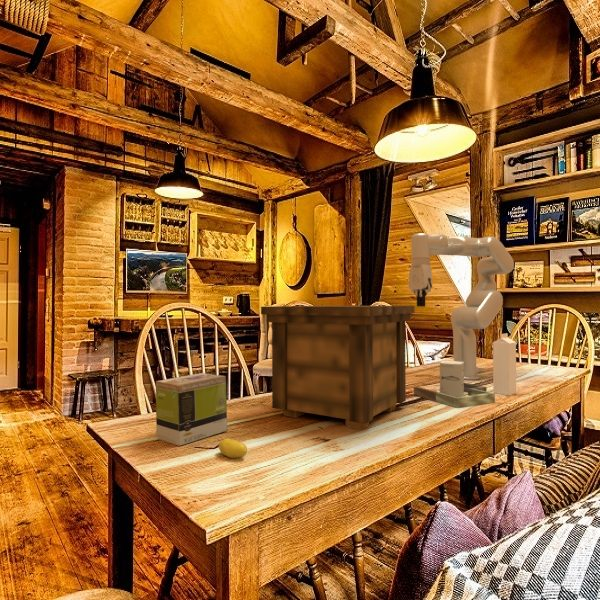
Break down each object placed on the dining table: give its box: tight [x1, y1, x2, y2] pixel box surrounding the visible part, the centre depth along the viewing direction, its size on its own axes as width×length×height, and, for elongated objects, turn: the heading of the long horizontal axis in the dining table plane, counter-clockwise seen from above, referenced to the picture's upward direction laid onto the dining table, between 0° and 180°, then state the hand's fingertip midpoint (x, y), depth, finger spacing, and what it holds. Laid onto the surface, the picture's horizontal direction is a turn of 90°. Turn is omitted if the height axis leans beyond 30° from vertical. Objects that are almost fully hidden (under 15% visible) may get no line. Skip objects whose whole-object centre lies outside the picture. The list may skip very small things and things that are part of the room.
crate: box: [260, 305, 416, 430], centre depth 130 cm, size 35×35×33 cm
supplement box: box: [439, 360, 465, 397], centre depth 148 cm, size 7×7×13 cm
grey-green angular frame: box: [413, 382, 496, 409], centre depth 148 cm, size 23×20×3 cm
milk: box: [492, 332, 517, 396], centre depth 155 cm, size 6×6×22 cm
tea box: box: [155, 372, 228, 447], centre depth 107 cm, size 15×10×15 cm
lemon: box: [218, 437, 248, 459], centre depth 92 cm, size 4×8×4 cm, turn 47°
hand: (421, 306), depth 177 cm, fingers closed
